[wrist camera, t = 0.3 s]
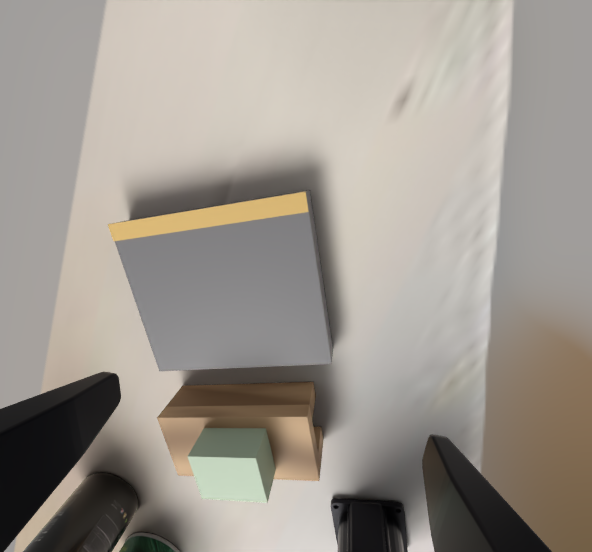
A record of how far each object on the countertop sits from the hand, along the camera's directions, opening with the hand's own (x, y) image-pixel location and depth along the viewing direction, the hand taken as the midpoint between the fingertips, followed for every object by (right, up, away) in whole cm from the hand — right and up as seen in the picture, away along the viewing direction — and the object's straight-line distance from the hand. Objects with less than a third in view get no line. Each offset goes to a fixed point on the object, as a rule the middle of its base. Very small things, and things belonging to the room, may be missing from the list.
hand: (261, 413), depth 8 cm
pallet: (-3, -8, +18) cm, 20 cm away
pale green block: (-3, -9, +15) cm, 18 cm away
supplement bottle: (-20, -21, +26) cm, 38 cm away
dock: (-4, +3, +15) cm, 15 cm away
